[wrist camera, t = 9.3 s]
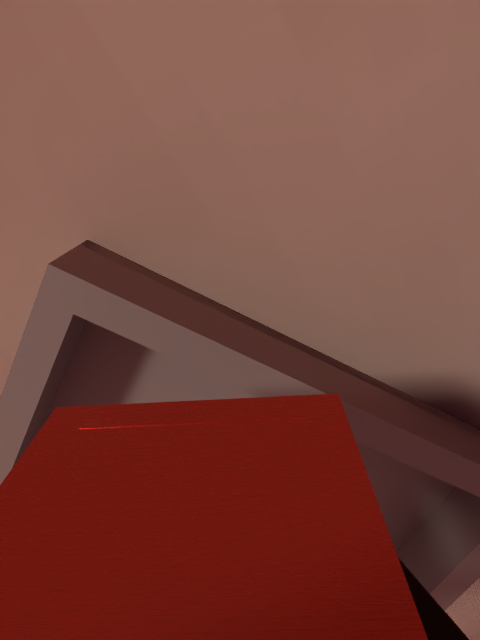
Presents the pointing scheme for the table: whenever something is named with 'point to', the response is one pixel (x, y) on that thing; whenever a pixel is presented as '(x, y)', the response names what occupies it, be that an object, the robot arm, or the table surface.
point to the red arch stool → (199, 527)
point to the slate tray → (240, 396)
